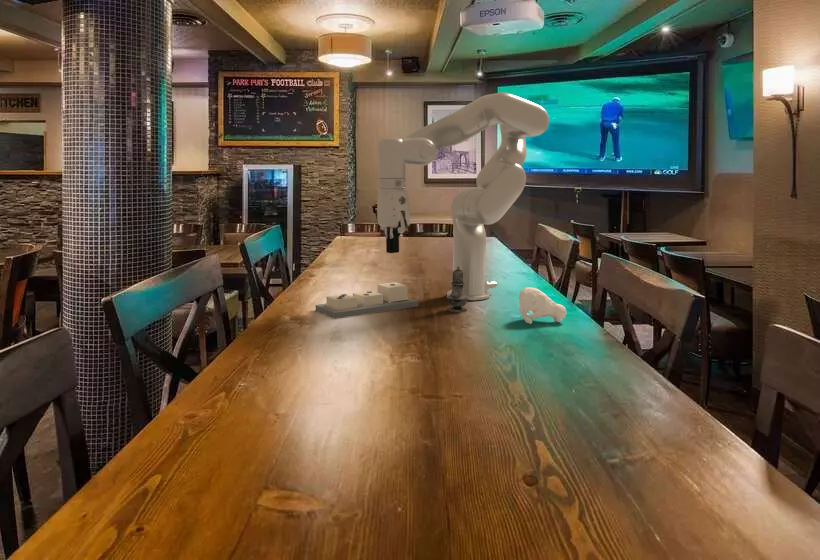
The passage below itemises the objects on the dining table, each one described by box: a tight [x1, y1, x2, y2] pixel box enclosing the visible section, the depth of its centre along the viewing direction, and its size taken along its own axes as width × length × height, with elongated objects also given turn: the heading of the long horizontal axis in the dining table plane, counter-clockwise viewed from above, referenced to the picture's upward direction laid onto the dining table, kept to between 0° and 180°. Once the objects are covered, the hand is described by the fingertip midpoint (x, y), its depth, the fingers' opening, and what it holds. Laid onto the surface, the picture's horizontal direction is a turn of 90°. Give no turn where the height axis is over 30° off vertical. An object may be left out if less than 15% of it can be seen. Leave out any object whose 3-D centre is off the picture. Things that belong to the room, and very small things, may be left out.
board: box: [314, 297, 420, 319], centre depth 168 cm, size 11×26×2 cm, turn 125°
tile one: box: [377, 281, 409, 303], centre depth 172 cm, size 6×6×4 cm
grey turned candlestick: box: [446, 266, 468, 313], centre depth 166 cm, size 6×6×12 cm
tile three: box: [325, 293, 358, 311], centre depth 163 cm, size 6×6×4 cm
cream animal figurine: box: [518, 286, 567, 325], centre depth 154 cm, size 6×8×12 cm
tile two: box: [352, 290, 383, 307], centre depth 168 cm, size 6×6×4 cm
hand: (392, 252), depth 170 cm, fingers closed
